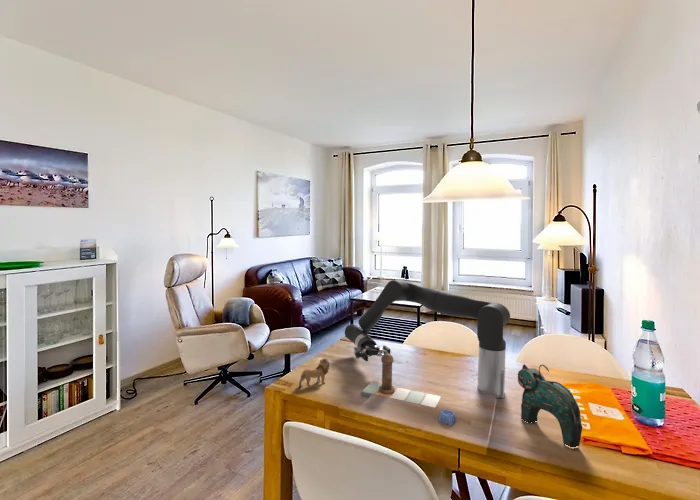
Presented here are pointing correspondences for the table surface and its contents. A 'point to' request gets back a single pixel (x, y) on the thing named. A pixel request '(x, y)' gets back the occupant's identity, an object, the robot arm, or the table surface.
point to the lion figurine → (315, 372)
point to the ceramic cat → (550, 403)
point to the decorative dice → (447, 417)
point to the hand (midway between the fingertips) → (377, 358)
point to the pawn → (386, 374)
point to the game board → (403, 395)
